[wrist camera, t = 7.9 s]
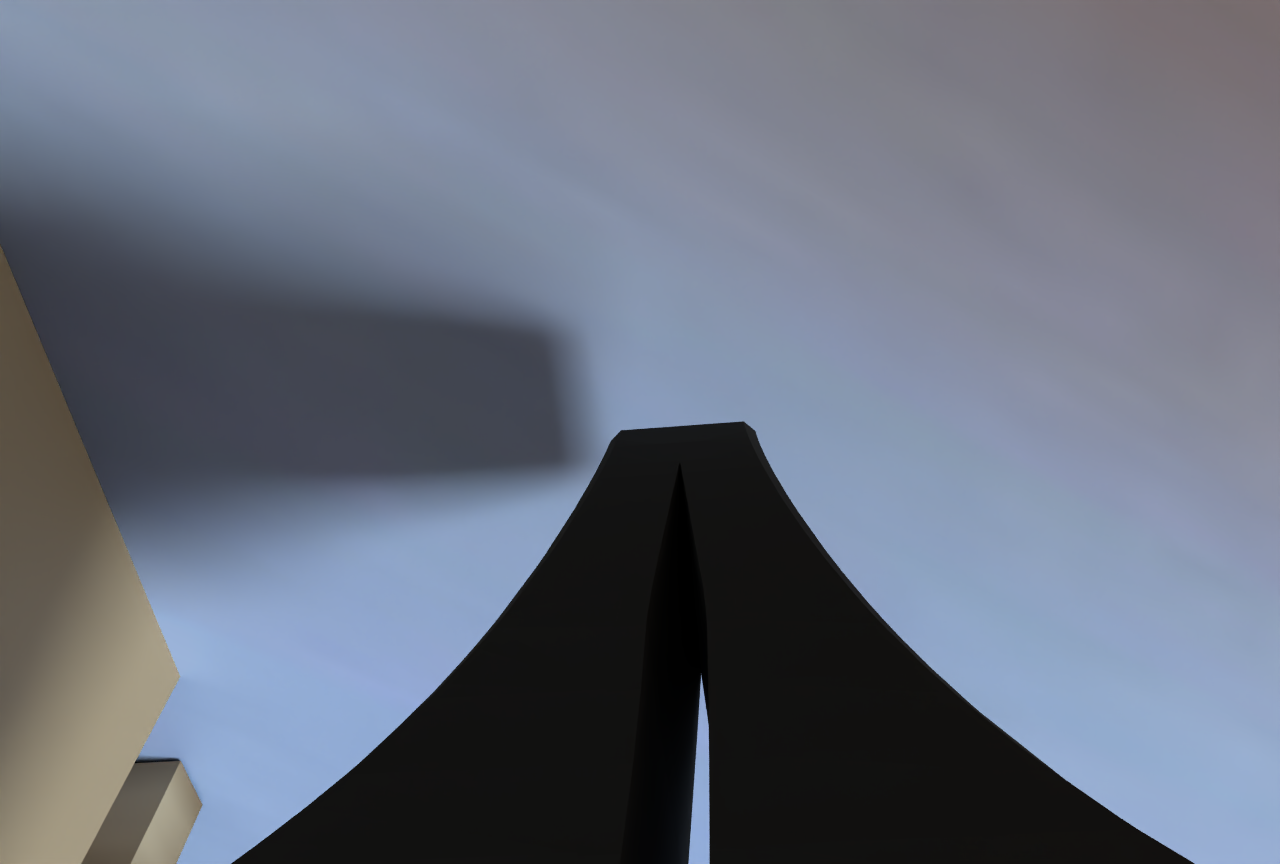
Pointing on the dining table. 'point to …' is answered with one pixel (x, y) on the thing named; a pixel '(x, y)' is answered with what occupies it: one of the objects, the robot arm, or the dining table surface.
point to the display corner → (148, 817)
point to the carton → (63, 619)
